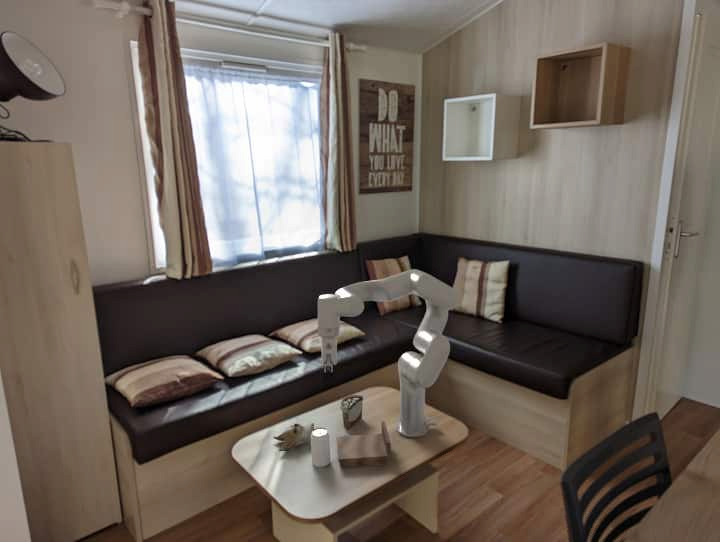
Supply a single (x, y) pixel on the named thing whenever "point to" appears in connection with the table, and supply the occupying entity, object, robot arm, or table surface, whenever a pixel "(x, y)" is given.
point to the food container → (351, 410)
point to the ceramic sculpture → (295, 436)
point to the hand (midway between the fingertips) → (328, 376)
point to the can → (320, 447)
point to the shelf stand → (364, 449)
